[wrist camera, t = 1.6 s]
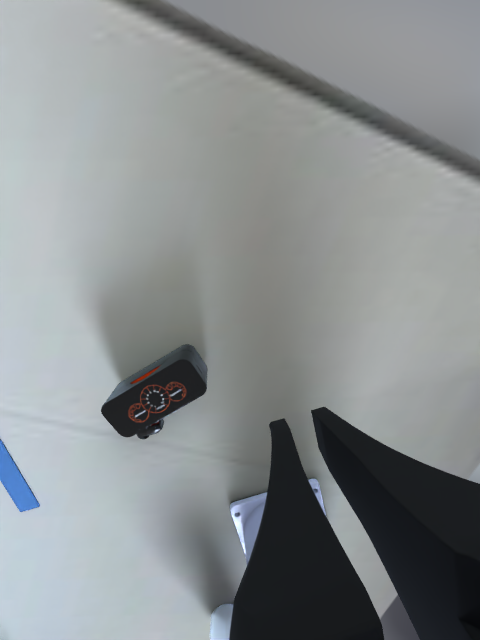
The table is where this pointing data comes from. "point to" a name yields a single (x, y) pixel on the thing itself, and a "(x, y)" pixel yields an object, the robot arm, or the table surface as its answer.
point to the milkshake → (221, 622)
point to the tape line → (15, 482)
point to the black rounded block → (156, 393)
